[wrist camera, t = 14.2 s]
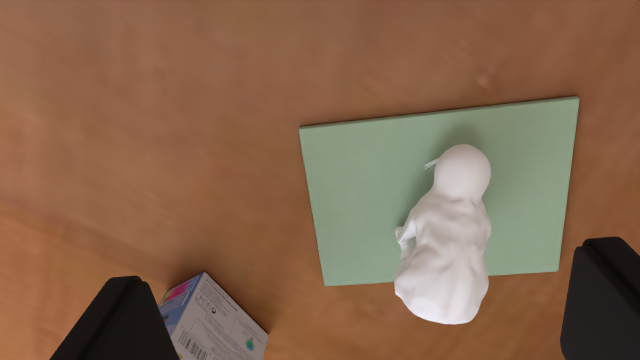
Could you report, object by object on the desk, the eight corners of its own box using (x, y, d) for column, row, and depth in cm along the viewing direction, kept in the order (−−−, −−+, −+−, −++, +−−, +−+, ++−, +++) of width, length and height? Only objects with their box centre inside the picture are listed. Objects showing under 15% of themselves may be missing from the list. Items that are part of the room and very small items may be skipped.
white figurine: (395, 330, 28) (440, 162, 24) (383, 263, 36) (416, 127, 32) (488, 346, 28) (550, 180, 24) (456, 275, 36) (498, 141, 32)
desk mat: (324, 282, 39) (324, 286, 38) (298, 126, 33) (298, 129, 32) (555, 267, 36) (558, 271, 36) (576, 95, 30) (580, 98, 30)
